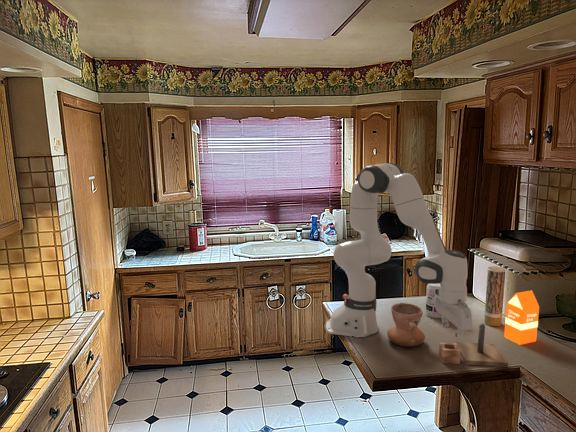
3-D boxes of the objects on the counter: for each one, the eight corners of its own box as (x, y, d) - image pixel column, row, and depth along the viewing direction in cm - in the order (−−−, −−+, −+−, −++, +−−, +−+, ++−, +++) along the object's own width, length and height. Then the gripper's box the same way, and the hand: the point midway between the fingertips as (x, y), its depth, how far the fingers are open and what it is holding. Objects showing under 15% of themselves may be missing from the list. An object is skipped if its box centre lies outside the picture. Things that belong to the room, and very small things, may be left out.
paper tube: (484, 325, 183) (488, 270, 179) (483, 319, 189) (487, 265, 185) (502, 328, 181) (506, 271, 176) (500, 321, 187) (504, 267, 183)
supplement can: (446, 313, 196) (447, 282, 194) (441, 320, 190) (443, 288, 187) (428, 310, 201) (429, 280, 198) (423, 316, 194) (424, 285, 191)
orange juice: (503, 336, 173) (507, 290, 169) (520, 333, 176) (523, 287, 172) (520, 345, 166) (524, 296, 162) (536, 341, 168) (541, 293, 165)
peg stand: (465, 364, 152) (467, 331, 150) (455, 345, 166) (457, 315, 163) (506, 366, 150) (509, 333, 148) (493, 347, 164) (495, 317, 162)
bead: (442, 362, 153) (443, 350, 152) (438, 354, 159) (439, 342, 158) (459, 363, 152) (460, 350, 151) (455, 355, 158) (456, 343, 157)
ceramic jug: (430, 351, 161) (432, 316, 159) (392, 352, 161) (394, 316, 159) (416, 332, 179) (417, 299, 177) (382, 332, 179) (383, 300, 177)
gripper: (477, 305, 141) (476, 344, 143) (447, 286, 161) (446, 321, 163) (460, 306, 141) (458, 345, 143) (432, 287, 161) (431, 322, 163)
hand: (452, 332), depth 153 cm, fingers open, 8 cm apart
